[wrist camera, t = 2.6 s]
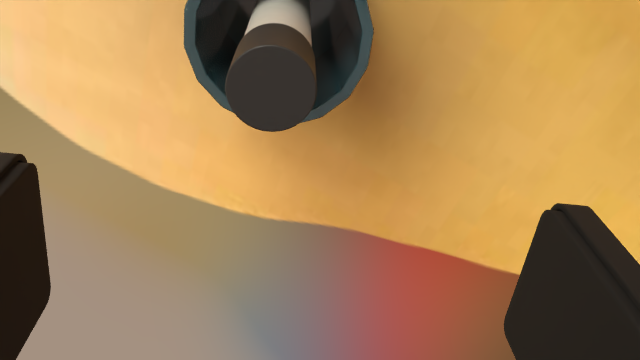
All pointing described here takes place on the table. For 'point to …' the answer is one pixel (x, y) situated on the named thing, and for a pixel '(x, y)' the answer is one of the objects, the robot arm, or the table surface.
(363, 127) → the table surface
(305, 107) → the marker
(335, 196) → the table surface
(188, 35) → the pen holder
